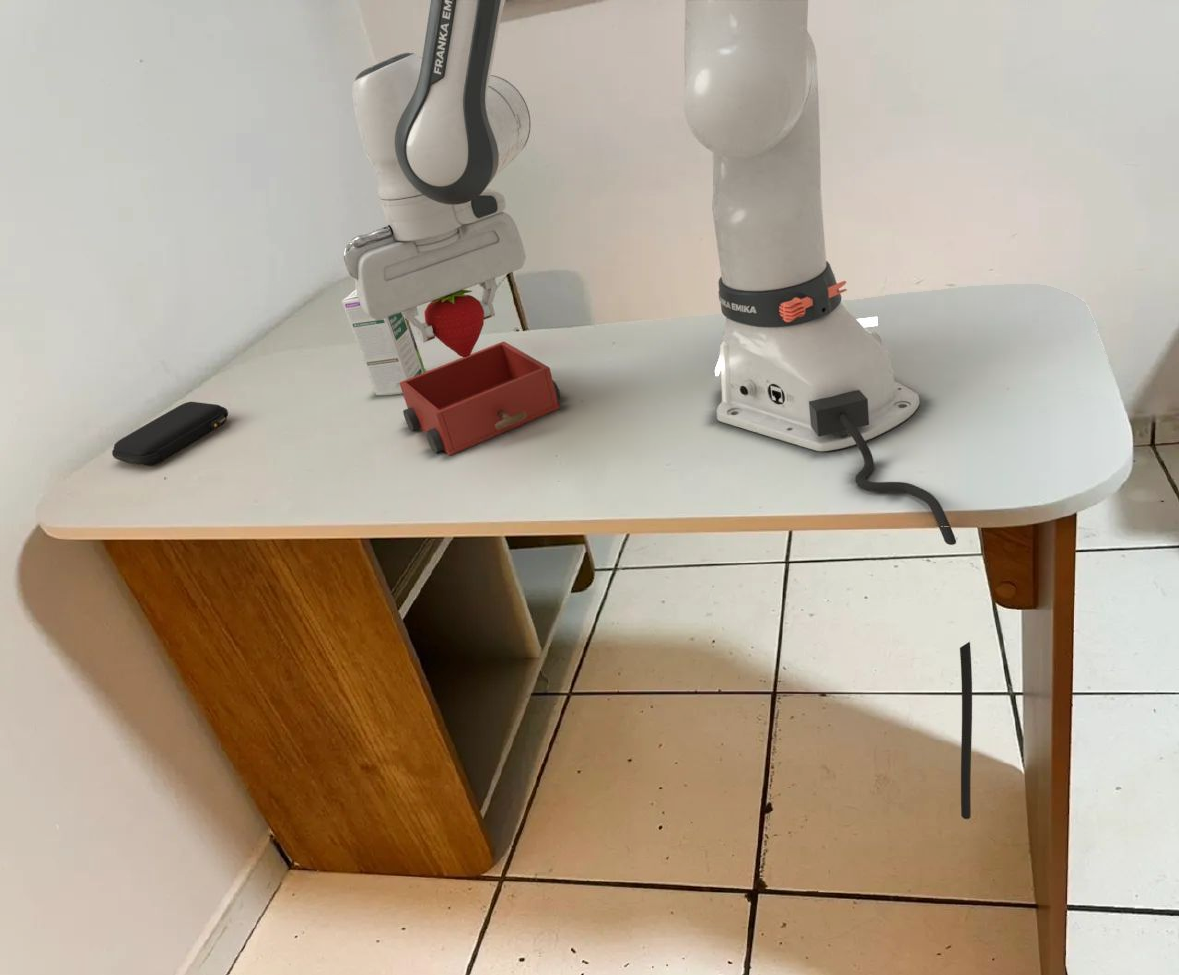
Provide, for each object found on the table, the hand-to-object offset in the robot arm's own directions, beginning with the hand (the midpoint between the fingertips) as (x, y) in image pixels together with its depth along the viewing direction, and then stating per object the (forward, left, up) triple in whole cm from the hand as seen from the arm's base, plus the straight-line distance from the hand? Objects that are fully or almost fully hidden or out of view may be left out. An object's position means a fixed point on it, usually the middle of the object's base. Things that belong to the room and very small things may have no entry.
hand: (458, 328), depth 112 cm
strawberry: (0, 0, -4) cm, 4 cm away
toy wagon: (-2, 0, -12) cm, 12 cm away
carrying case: (+30, +34, -12) cm, 48 cm away
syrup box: (+19, +4, -12) cm, 23 cm away
